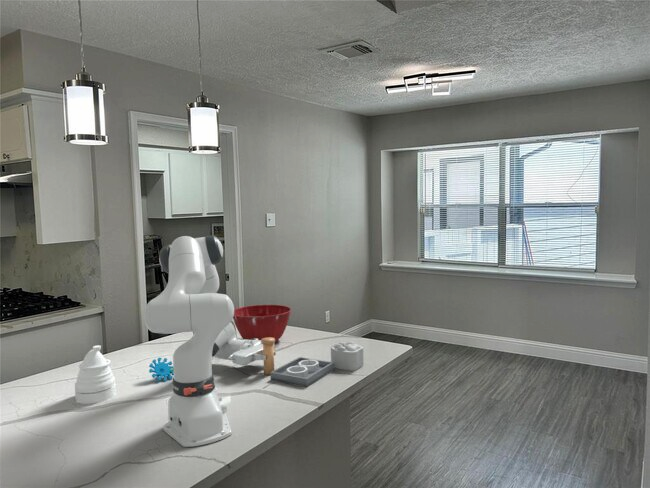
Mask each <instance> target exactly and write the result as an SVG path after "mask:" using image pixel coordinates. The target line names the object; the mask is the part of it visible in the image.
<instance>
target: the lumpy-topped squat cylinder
mask: <svg viewBox="0 0 650 488" xmlns="http://www.w3.org/2000/svg"><path fill="white" fill-rule="evenodd" d="M330 362H334V369H340V370H344V371H356V370H358V369H360V368H362V367H364V365H365V363H364V347H363V346H361V345H359V344H356V343H354V342H353V341H349V342H345V341H344V342H343V341H340V342H338V343H336V344H333V345H331V346H330Z"/></svg>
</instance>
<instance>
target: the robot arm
mask: <svg viewBox="0 0 650 488" xmlns="http://www.w3.org/2000/svg"><path fill="white" fill-rule="evenodd" d="M158 256H159V258H158V260H159V264H160V266H161V268H162V269H163V271H164V272H165V273H167V274H168V282H167V284H166V286H165V288H164V290H163V291H162V292H160V294H158V295H156V297H154V298H152V299H151V300H149V301H148V303H147V304H146V305H145V307H144V310H143V322H144V324H145V327H146V328H147V329H148V330H149V331H150V332H151V333H155V334H164V335H165V334H166V335H169V334H182V333H192V334H193V335H192V336H191V338H189V340H187V341H186V342H184V343H182V344H181V345H179V346H178V347H177V348H176V349H175V351H174V353H173V355H172V366H173V370H174V375H173V377H172V383H171V385H172V391H173V393H172V395H171V396H170V398H169V399H168V401H167V405H168V406H167V407H168V408H167V411H168V413H167V415H168V417H167V418H168V419H167V420H168V422H166V423H164V425H163V426H162V431H164V432H165V433H166V434H167V435H168V436H170V437H171V438H172V439H174V440H175V441H176V442H177V443H178V444H179V445H181V446H182V447H184V448H186V447H187V448H188V447H198V446H202V445H203V446H204V445H207V444H213V443H215V442H218V441H220V440H224V439H225V438H228V437H229V436H231V435H232V428H231V424H230V422H229V418H228V416H227V411H228V410H227V405H226V403H225V404H221V402H222V401H223V398H222V396H219V394H218V388H216V385H215V384H216V383H215V381H216V380H215V377H214V373H213V370H212V369H213V365H212V359H213V357H214V358H218V359H221V360H226V361H227V360H228V361H232V363H233V364H235V365H240V366H247V365H249V364H251V363H253V362H256V361H264V360H266V359H267V355H265V354H263V344H262V343H261V340H259V341H258V339H257V338H254V339H248V340H245V339H243V338H242V339H239V338H237V337H238V334H237V330H236V329H237V327H236V325H235V322H234V319H233V316H234V310H235V306H234V302H233V301H232V299H231V297H229V296H228V295H227V294H224V293H218V291H219V289H220V278H219V274H218V271H217V267H216V264H218V263H221V261H222V259H223V257H224V246H223V244H222V242H221V240H219V238H218V237H217V236H215V235H206V236H203V237H202V236H201V237H195V238H194V237H193V236H189V235H183V236H179V237H177V238H175V239H174V240H173V242H171V244H170V243H169V244H166V245H165V246H163V247H162V248H161V249H160V250H159V255H158ZM273 345H274V357H275V356H276V354H277V352H276V345H275V343H274V344H273Z"/></svg>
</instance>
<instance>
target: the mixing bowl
mask: <svg viewBox="0 0 650 488" xmlns="http://www.w3.org/2000/svg"><path fill="white" fill-rule="evenodd" d="M291 312H292V308H291V307H290V306H287V305H283V304H282V305H281V304H254V305H248V306H247V305H246V306H242V307H238V308H234V316H233V319H232V320H233V323H234V325H235V328H236V329H237V331H238V333H239V335H240V337H241V338H242V340H243V339H245V340H248V339H254V338H257V339H258V341H259V340H261V339H263V338H267V337H272V338H275V343H276V342H277V341H279V340H280V339H281V338H282V336H283V335H284V333H285V331H286V328H287V325H288V322H289V319H290V316H291Z"/></svg>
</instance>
